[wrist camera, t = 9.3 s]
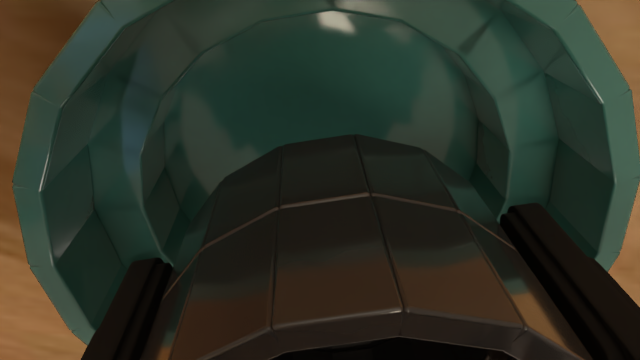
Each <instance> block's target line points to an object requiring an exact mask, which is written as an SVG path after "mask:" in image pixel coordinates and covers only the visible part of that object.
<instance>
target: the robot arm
mask: <svg viewBox="0 0 640 360" xmlns="http://www.w3.org/2000/svg"><path fill="white" fill-rule="evenodd" d="M500 226H501V227H502V229H503V230H504V231H505V233H506V234H507V236H508V237H509V239H510V240H511V242H512V243H513V244H514V246H515V247H516V249H517V250H518V252H519V254H520V255H521V256H522V257H523V259H524V260H525V262H526V263H527V265H528V266H529V267H530V269H531V270H532V272H533V273H534V275H535V276H536V278H537V279H538V280H539V282H540V283H541V285H542V286H543V288H544V289H545V290H546V292H547V293H548V295H549V296H550V298H551V299H552V301H553V302H554V303H555V305H556V306H557V308H558V309H559V311H560V312H561V314H562V315H563V316H564V318H565V319H566V321H567V322H568V324H569V325H570V326H571V328H572V329H573V331H574V332H575V334H576V335H577V337H578V338H579V339H580V341H581V342H582V344H583V345H584V347H585V348H586V350H587V351H588V352H589V354H590V355H591V357H592V358H593V360H640V307H639V306H638V305H637V304H636V303H635V302H634V301H633V300H632V299H631V298H630V296H629V295H628V294H627V293H626V292H625V291H624V290H623V289H622V288H621V287H620V285H619V284H618V283H617V282H616V281H615V280H614V279H613V278H612V277H611V276H610V274H609V273H608V272H607V271H606V270H605V269H604V268H603V267H602V266H601V265H600V264H599V263H598V262H597V261H596V260H595V259H593V258H591V257H587V256H586V255H585V253H584V252H583V251H582V250H581V249H580V248H579V247H578V246H577V244H576V243H575V242H574V241H573V240H572V239H571V238H570V237H569V236H568V234H567V233H566V232H565V231H564V230H563V229H562V228H561V227H560V225H559V224H558V223H557V222H556V221H555V220H554V219H553V218H552V216H551V215H550V214H549V213H548V212H547V211H546V210H545V209H544V208H543V206H542V205H540V204H539V203H536V202H535V203H528V204H521V205H514V206H510V207H509V209H508V211H507V213H505V214H502V215H501V217H500ZM172 269H173V267H172V265H171V264H170V263H164V262H163V260H162V259H161V258H158V257H157V258H151V259H144V260H137V261H134V262H132V263H131V265H130V266H129V268H128V270H127V272H126V274H125V276H124V278H123V280H122V282H121V284H120V286H119V288H118V290H117V293H116V295H115V297H114V299H113V301H112V303H111V305H110V307H109V309H108V311H107V313H106V315H105V317H104V319H103V321H102V323H101V325H100V327H99V328H98V329H97V330H96V332H95V333H94V335H93V336H92V338H91V340H90V342H89V344H88V346H87V348H86V350H85V352H84V354H83V356H82V358H81V360H140V358H141V355H142V352H143V350H144V347H145V344H146V341H147V339H148V336H149V333H150V330H151V328H152V325H153V322H154V319H155V316H156V314H157V311H158V308H159V306H160V303H161V300H162V297H163V294H164V291H165V289H166V286H167V283H168V280H169V278H170V275H171V272H172Z"/></svg>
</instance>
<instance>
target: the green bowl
mask: <svg viewBox="0 0 640 360" xmlns="http://www.w3.org/2000/svg"><path fill="white" fill-rule="evenodd" d="M629 88H630V87H629V85H628V83H627V81H626V80H625V78H624V76H623V75H622V73H621V72H620V70H619V68H618V67H617V65H616V63H615V62H614V60H613V58H612V57H611V55H610V53H609V52H608V50H607V48H606V47H605V45H604V44H603V42H602V40H601V39H600V37H599V35H598V34H597V32H596V30H595V29H594V27H593V25H592V24H591V22H590V20H589V19H588V17H587V15H586V14H585V12H584V11H583V9H582V7H581V6H580V5H579V4H578V3H577V1H576V0H99V1H97V2H96V3H95V4H94V5H93V7H92V8H91V9H90V11H89V12H88V13H87V15H86V16H85V18H84V19H83V20H82V22H81V23H80V24H79V26H78V27H77V28H76V30H75V31H74V33H73V34H72V35H71V37H70V38H69V39H68V41H67V42H66V43H65V45H64V46H63V48H62V49H61V50H60V52H59V53H58V54H57V56H56V57H55V58H54V60H53V61H52V63H51V64H50V65H49V67H48V68H47V69H46V71H45V72H44V73H43V75H42V76H41V78H40V79H39V80H38V82H37V83H36V84H35V86H34V88H33V91H32V92H31V95H30V100H29V105H28V109H27V114H26V119H25V123H24V128H23V133H22V138H21V142H20V147H19V152H18V156H17V161H16V166H15V170H14V175H13V180H12V183H13V186H12V188H13V193H14V198H15V203H16V208H17V213H18V217H19V222H20V227H21V232H22V237H23V241H24V246H25V251H26V256H27V261H28V264H29V265H30V269H31V271H32V272H33V274H34V275H35V277H36V278H37V280H38V282H39V283H40V285H41V286H42V288H43V289H44V291H45V293H46V294H47V296H48V297H49V299H50V300H51V302H52V303H53V305H54V307H55V308H56V310H57V311H58V313H59V314H60V316H61V318H62V319H63V321H64V322H65V324H66V325H67V327H68V328H69V330H72V333H73V334H74V335H75V336H77V337H78V338H79V339H80V340H81V341H83V342H84V343H85V344H86V345H87V346H88V344H89V342H90V340H91V338H92V336H93V335H94V333H95V332H96V330H97V329H98V328H99V327H100V325H101V323H102V321H103V319H104V317H105V315H106V313H107V311H108V309H109V307H110V305H111V303H112V301H113V299H114V297H115V295H116V293H117V290H118V288H119V286H120V284H121V282H122V280H123V278H124V276H125V274H126V272H127V270H128V268H129V266H130V265H131V263H132V262H134V261H137V260H144V259H151V258H157V257H158V258H161V259H162V260H163V262H164V263H170V264H171V265H172V267H174V264H175V261H176V258H177V255H178V253H179V250H180V247H181V244H182V242H183V239H184V236H185V233H186V231H187V228H188V226H189V224H190V222H191V221H192V220H193V218H194V217H195V216H196V214H197V213H198V211H199V210H200V209H201V207H202V206H203V204H204V203H205V202H206V200H207V199H208V198H209V196H210V195H211V193H212V192H213V191H214V189H215V188H216V186H217V185H218V184H219V182H221V181H222V180H223V179H224V177H226V176H228V175H229V174H231V173H233V172H235V171H236V170H238V169H240V168H242V167H243V166H245V165H247V164H249V163H250V162H252V161H254V160H255V159H257V158H259V157H261V156H262V155H264V154H266V153H268V152H269V151H271V150H273V149H275V148H276V147H278V146H282V147H283V145H285V144H289V143H296V142H302V141H309V140H315V139H322V138H328V137H335V136H341V135H348V134H353V135H355V134H360V135H364V136H369V137H374V138H378V139H383V140H387V141H392V142H397V143H401V144H406V145H410V146H415V147H420V148H421V149H424V150H426V151H427V152H429V153H430V154H432V155H433V156H434V157H436V158H437V159H438V160H440V161H441V162H443V163H444V164H445V165H447V166H448V167H449V168H451V169H452V170H454V171H455V172H456V173H458V174H459V175H460V176H462V177H463V178H465V179H466V180H467V181H469V182H470V183H471V185H472V186H473V187H474V188H475V190H476V191H477V193H478V194H479V195H480V197H481V198H482V200H483V201H484V203H485V204H486V205H487V207H488V208H489V210H490V211H491V213H492V214H493V216H494V217H495V218H496V220H497V221H498V223H499V224H500V217H501V215H502V214H505V213H507V211H508V209H509V207H510V206H514V205H521V204H528V203H535V202H536V203H539V204H540V205H542V206H543V208H544V209H545V210H546V211H547V212H548V213H549V214H550V215H551V216H552V218H553V219H554V220H555V221H556V222H557V223H558V224H559V225H560V227H561V228H562V229H563V230H564V231H565V232H566V233H567V234H568V236H569V237H570V238H571V239H572V240H573V241H574V242H575V243H576V244H577V246H578V247H579V248H580V249H581V250H582V251H583V252H584V253H585V255H586V256H587V257H591V258H593V259H595V260H596V261H597V262H598V263H599V264H600V265H601V266H602V267H603V268H604V269H605V270H606V271H607V272H608V271H609V270H610V268H611V266H612V265H613V263H614V262H615V260H616V259H617V257H618V256H619V254H620V251H621V249H622V245H623V241H624V238H625V234H626V230H627V227H628V223H629V219H630V216H631V212H632V208H633V204H634V201H635V197H636V193H637V190H638V186H639V182H640V156H639V148H638V139H637V131H636V122H635V114H634V106H633V97H632V91H631V89H629Z"/></svg>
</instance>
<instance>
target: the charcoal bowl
mask: <svg viewBox="0 0 640 360" xmlns="http://www.w3.org/2000/svg"><path fill="white" fill-rule="evenodd" d="M140 360H593V358H592V357H591V355H590V354H589V352H588V351H587V350H586V348H585V347H584V345H583V344H582V342H581V341H580V339H579V338H578V337H577V335H576V334H575V332H574V331H573V329H572V328H571V326H570V325H569V324H568V322H567V321H566V319H565V318H564V316H563V315H562V314H561V312H560V311H559V309H558V308H557V306H556V305H555V303H554V302H553V301H552V299H551V298H550V296H549V295H548V293H547V292H546V290H545V289H544V288H543V286H542V285H541V283H540V282H539V280H538V279H537V278H536V276H535V275H534V273H533V272H532V270H531V269H530V267H529V266H528V265H527V263H526V262H525V260H524V259H523V257H522V256H521V255H520V254H519V252H518V250H517V249H516V247H515V246H514V244H513V243H512V242H511V240H510V239H509V237H508V236H507V234H506V233H505V231H504V230H503V229H502V227H501V226H500V224H499V223H498V221H497V220H496V218H495V217H494V216H493V214H492V213H491V211H490V210H489V208H488V207H487V205H486V204H485V203H484V201H483V200H482V198H481V197H480V195H479V194H478V193H477V191H476V190H475V188H474V187H473V186H472V185H471V183H470V182H469V181H467V180H466V179H465V178H463V177H462V176H460V175H459V174H458V173H456V172H455V171H454V170H452V169H451V168H449V167H448V166H447V165H445V164H444V163H443V162H441V161H440V160H438V159H437V158H436V157H434V156H433V155H432V154H430V153H429V152H427V151H426V150H424V149H421V148H420V147H415V146H410V145H406V144H401V143H397V142H392V141H387V140H383V139H378V138H374V137H369V136H364V135H360V134H355V135H353V134H348V135H341V136H335V137H328V138H322V139H315V140H309V141H302V142H296V143H289V144H285V145H283V147H282V146H278V147H276V148H275V149H273V150H271V151H269V152H268V153H266V154H264V155H262V156H261V157H259V158H257V159H255V160H254V161H252V162H250V163H249V164H247V165H245V166H243V167H242V168H240V169H238V170H236V171H235V172H233V173H231V174H229V175H228V176H226V177H224V179H223V180H222V181H221V182H219V184H218V185H217V186H216V188H215V189H214V191H213V192H212V193H211V195H210V196H209V198H208V199H207V200H206V202H205V203H204V204H203V206H202V207H201V209H200V210H199V211H198V213H197V214H196V216H195V217H194V218H193V220H192V221H191V222H190V224H189V226H188V228H187V231H186V233H185V236H184V239H183V242H182V244H181V247H180V250H179V253H178V255H177V258H176V261H175V264H174V267H173V269H172V272H171V275H170V278H169V280H168V283H167V286H166V289H165V291H164V294H163V297H162V300H161V303H160V306H159V308H158V311H157V314H156V316H155V319H154V322H153V325H152V328H151V330H150V333H149V336H148V339H147V341H146V344H145V347H144V350H143V352H142V355H141V358H140Z"/></svg>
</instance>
